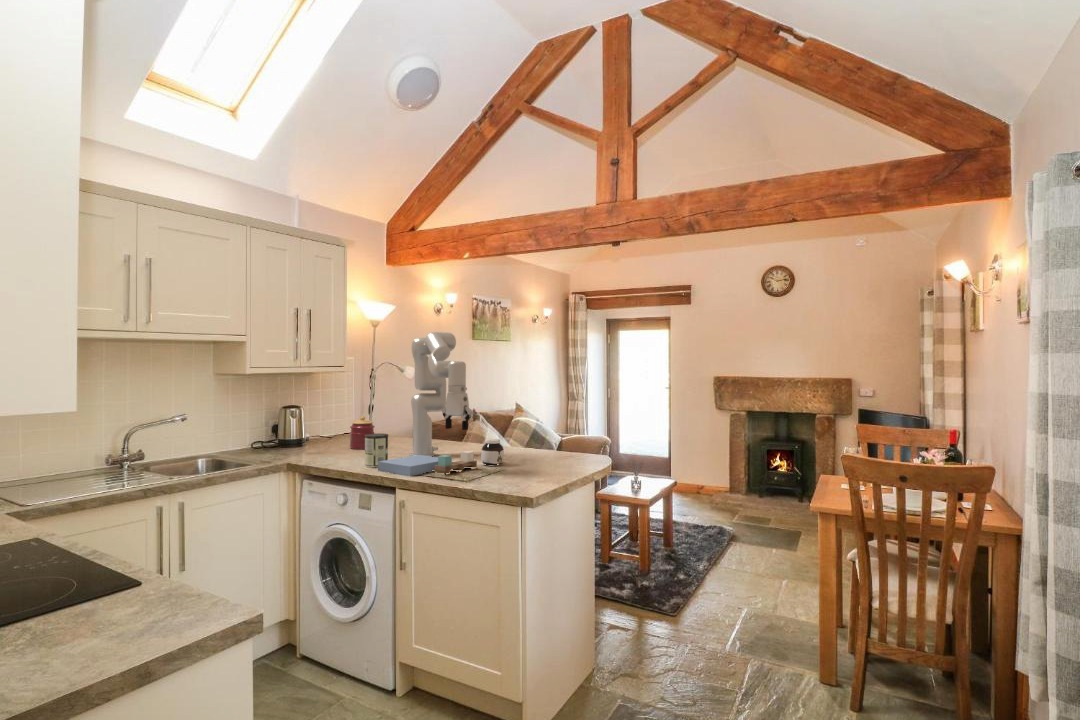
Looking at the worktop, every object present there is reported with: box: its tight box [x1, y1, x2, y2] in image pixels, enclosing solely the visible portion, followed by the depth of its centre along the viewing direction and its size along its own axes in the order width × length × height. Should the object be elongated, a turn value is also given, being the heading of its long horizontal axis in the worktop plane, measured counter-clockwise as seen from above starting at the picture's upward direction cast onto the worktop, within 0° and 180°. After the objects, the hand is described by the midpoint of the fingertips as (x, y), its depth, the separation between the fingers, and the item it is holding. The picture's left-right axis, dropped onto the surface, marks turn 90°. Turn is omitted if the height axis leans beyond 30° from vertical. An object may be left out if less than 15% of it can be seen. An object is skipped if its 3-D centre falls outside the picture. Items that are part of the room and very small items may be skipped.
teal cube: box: [437, 454, 453, 466], centre depth 238 cm, size 4×4×4 cm
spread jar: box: [480, 438, 505, 466], centre depth 262 cm, size 12×11×12 cm
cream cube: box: [460, 450, 475, 462], centre depth 250 cm, size 4×4×4 cm
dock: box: [377, 455, 438, 477], centre depth 247 cm, size 24×20×4 cm
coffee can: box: [364, 433, 389, 468], centre depth 256 cm, size 10×10×14 cm
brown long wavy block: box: [434, 460, 478, 474], centre depth 244 cm, size 20×6×4 cm, turn 145°
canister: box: [349, 415, 376, 450], centre depth 311 cm, size 13×13×18 cm
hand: (456, 429), depth 244 cm, fingers open, 9 cm apart
